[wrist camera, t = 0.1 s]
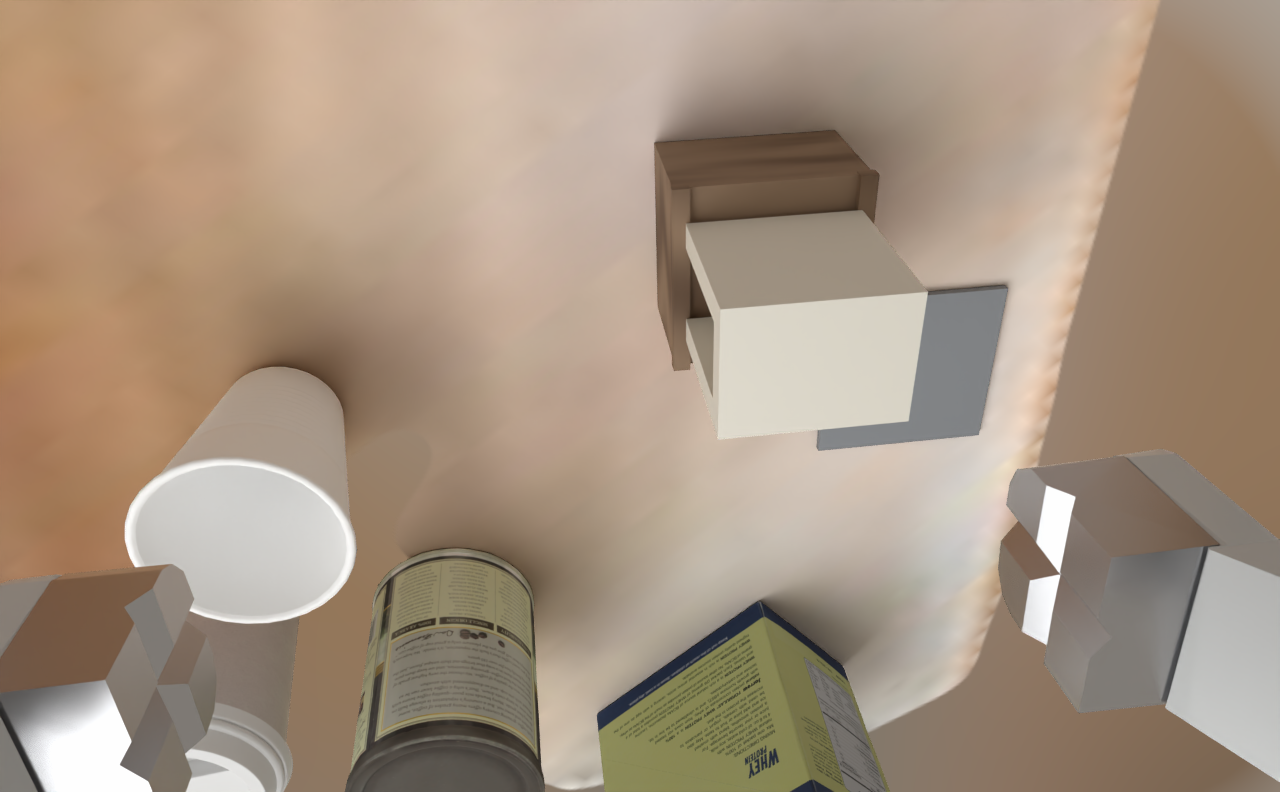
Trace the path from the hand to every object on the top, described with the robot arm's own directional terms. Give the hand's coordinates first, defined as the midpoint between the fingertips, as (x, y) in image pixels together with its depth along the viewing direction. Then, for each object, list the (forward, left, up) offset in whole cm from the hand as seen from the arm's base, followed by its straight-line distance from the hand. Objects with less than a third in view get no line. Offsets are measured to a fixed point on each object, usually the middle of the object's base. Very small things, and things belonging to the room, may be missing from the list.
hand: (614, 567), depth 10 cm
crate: (+14, +10, -39) cm, 42 cm away
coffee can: (+39, -8, -39) cm, 56 cm away
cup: (+23, -15, -39) cm, 48 cm away
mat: (+24, +20, -39) cm, 50 cm away
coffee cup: (+35, -20, -39) cm, 56 cm away
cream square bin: (+14, +10, -32) cm, 37 cm away
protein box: (+50, +9, -39) cm, 64 cm away
